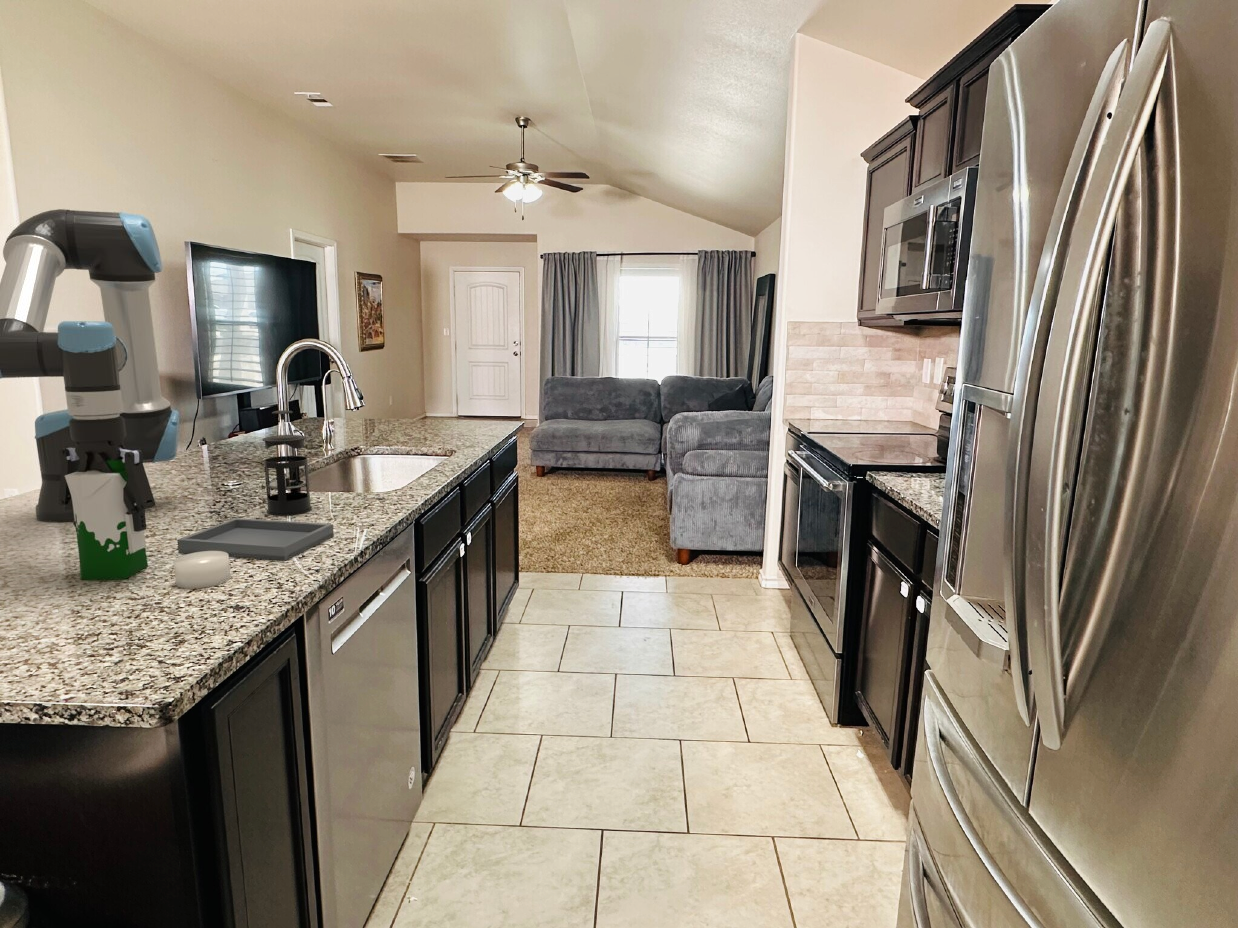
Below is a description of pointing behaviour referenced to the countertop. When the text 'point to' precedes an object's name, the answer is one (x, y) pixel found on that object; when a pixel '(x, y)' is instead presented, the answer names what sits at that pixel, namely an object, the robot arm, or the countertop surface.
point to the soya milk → (103, 524)
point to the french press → (295, 498)
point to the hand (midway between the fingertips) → (112, 547)
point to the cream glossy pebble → (202, 569)
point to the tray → (257, 538)
